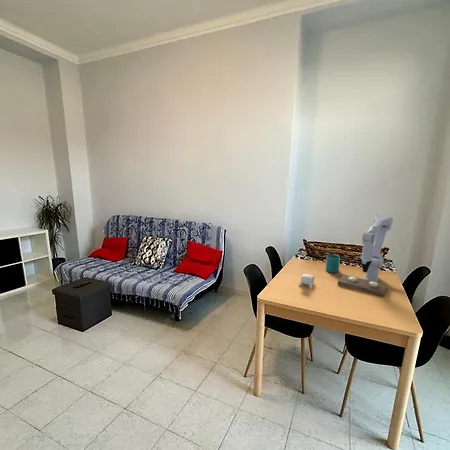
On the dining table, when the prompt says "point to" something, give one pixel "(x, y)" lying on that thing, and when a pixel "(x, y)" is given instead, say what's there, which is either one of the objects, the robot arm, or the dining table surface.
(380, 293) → the console
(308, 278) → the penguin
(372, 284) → the button
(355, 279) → the button
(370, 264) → the robot arm
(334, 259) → the cup
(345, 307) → the dining table surface
